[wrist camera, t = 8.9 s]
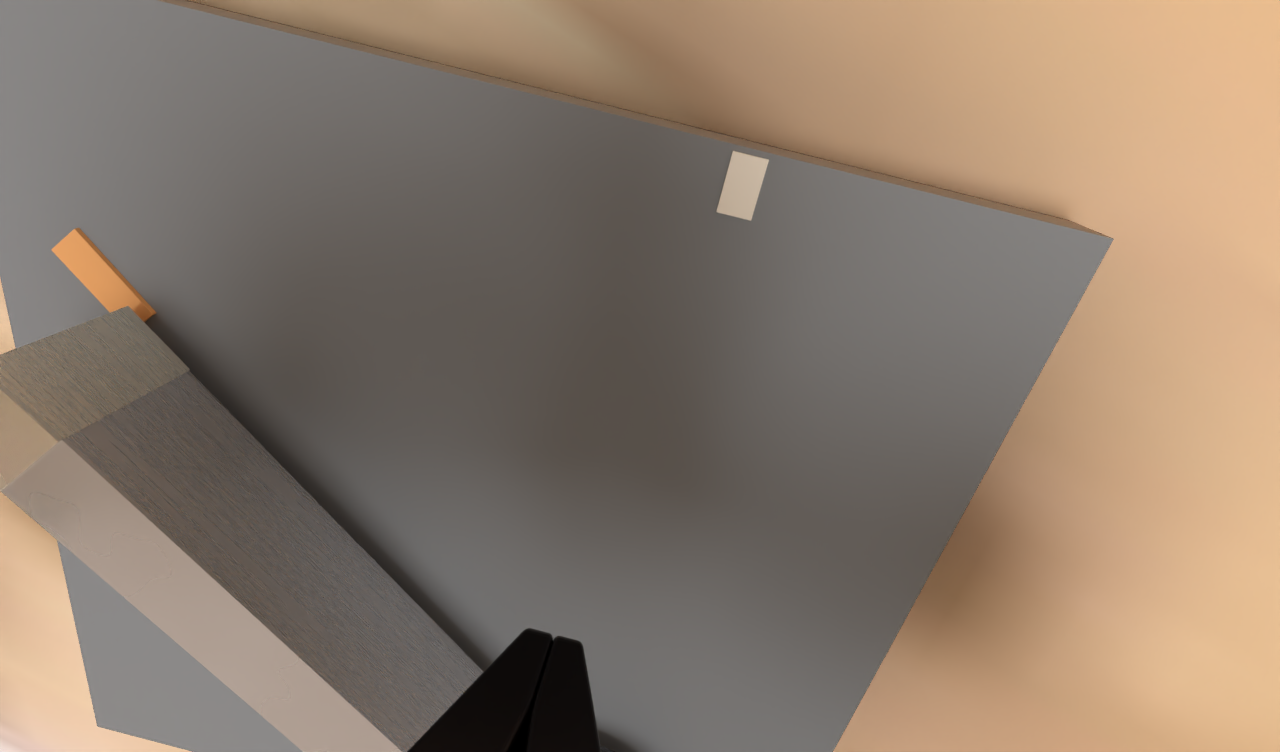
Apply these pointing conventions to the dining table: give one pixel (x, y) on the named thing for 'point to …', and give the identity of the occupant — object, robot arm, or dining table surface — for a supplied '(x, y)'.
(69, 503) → the dial lever
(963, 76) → the dining table surface
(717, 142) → the dial plate
